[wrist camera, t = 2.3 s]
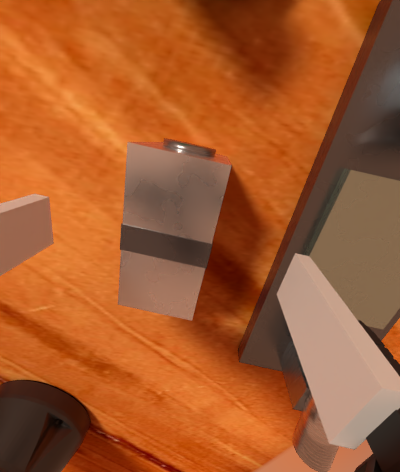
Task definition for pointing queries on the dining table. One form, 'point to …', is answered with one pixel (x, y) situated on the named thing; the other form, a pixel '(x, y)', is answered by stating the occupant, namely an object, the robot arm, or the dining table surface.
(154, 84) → the dining table surface
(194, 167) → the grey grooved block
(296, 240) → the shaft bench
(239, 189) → the dining table surface
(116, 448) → the dining table surface
